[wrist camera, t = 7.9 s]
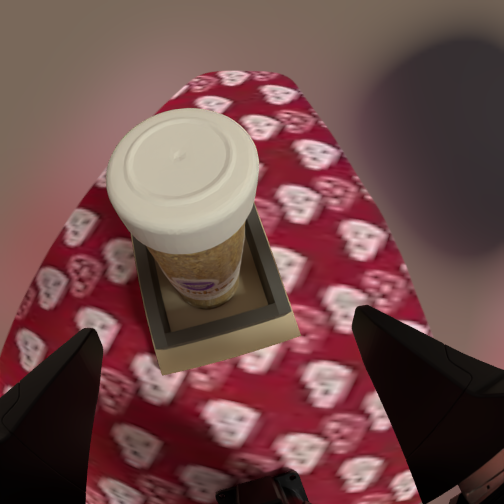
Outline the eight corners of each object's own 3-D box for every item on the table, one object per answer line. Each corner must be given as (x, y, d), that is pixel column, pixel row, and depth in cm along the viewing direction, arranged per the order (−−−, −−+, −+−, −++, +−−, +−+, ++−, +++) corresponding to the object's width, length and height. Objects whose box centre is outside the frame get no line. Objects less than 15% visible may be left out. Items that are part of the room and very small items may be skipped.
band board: (296, 336, 20) (310, 333, 17) (165, 374, 18) (152, 378, 15) (248, 197, 24) (252, 171, 20) (133, 226, 22) (119, 205, 19)
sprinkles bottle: (183, 316, 19) (102, 248, 6) (170, 255, 20) (104, 122, 8) (247, 301, 20) (283, 206, 7) (231, 241, 21) (238, 92, 8)
